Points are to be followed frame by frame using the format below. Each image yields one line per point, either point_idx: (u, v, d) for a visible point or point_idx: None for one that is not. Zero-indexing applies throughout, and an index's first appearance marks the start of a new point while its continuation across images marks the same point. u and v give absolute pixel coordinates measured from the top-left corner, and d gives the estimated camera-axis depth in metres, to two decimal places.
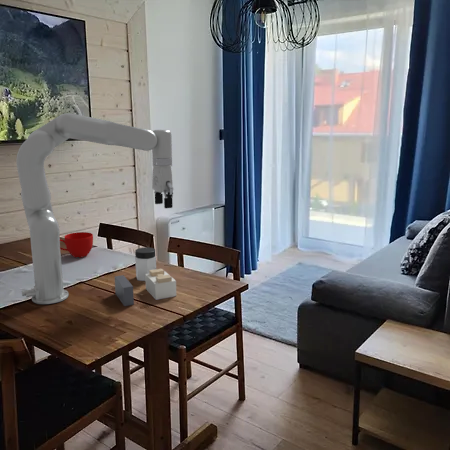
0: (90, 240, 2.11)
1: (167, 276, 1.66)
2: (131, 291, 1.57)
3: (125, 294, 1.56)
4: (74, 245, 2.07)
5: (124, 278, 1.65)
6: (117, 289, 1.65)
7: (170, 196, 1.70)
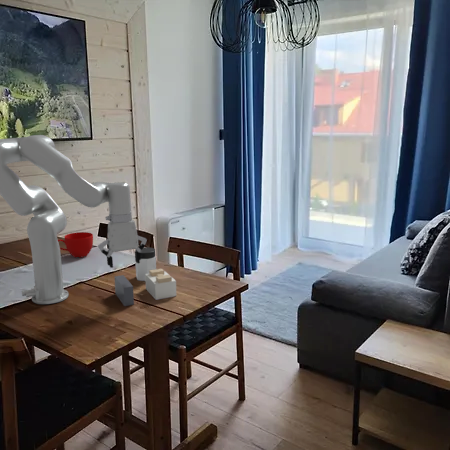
0: (90, 240, 2.11)
1: (167, 276, 1.66)
2: (131, 291, 1.57)
3: (125, 294, 1.56)
4: (74, 245, 2.07)
5: (124, 278, 1.65)
6: (117, 289, 1.64)
7: None
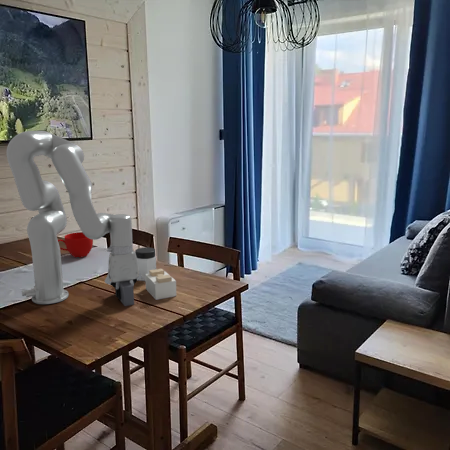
0: (90, 240, 2.11)
1: (167, 276, 1.66)
2: (131, 291, 1.57)
3: (125, 294, 1.56)
4: (74, 245, 2.07)
5: None
6: None
7: None
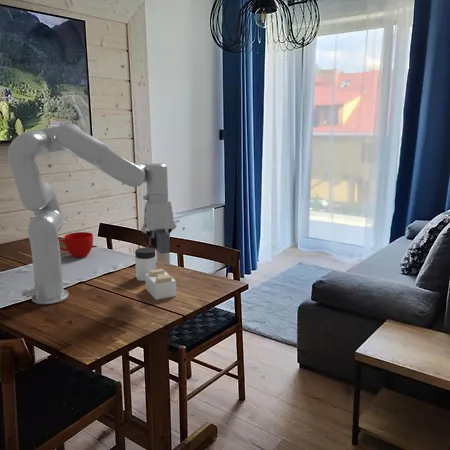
0: (90, 240, 2.11)
1: (167, 276, 1.66)
2: (167, 238, 1.59)
3: (162, 241, 1.58)
4: (74, 245, 2.07)
5: None
6: None
7: None
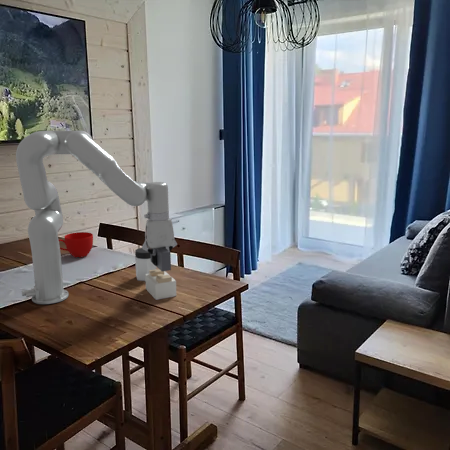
0: (90, 240, 2.11)
1: (167, 276, 1.66)
2: (168, 256, 1.61)
3: (163, 259, 1.60)
4: (74, 245, 2.07)
5: None
6: None
7: None
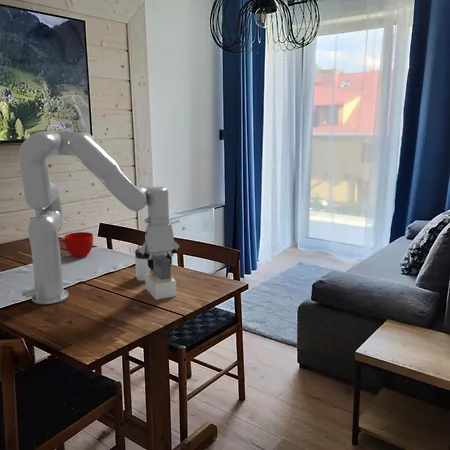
0: (90, 240, 2.11)
1: None
2: (168, 265, 1.62)
3: (163, 267, 1.61)
4: (74, 245, 2.07)
5: (160, 253, 1.69)
6: (153, 264, 1.69)
7: None
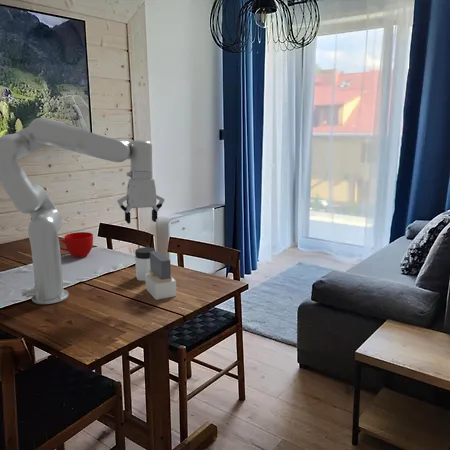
0: (90, 240, 2.11)
1: None
2: (168, 265, 1.62)
3: (163, 267, 1.61)
4: (74, 245, 2.07)
5: (160, 253, 1.69)
6: (153, 264, 1.69)
7: None
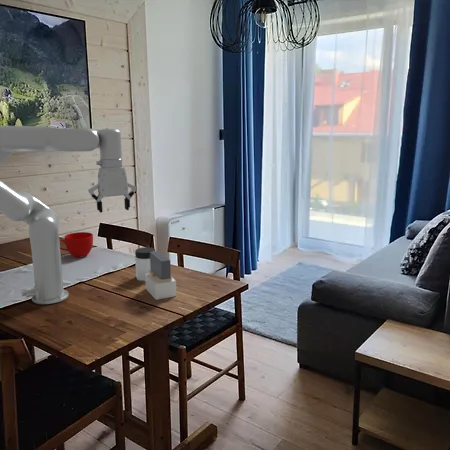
0: (90, 240, 2.11)
1: None
2: (168, 265, 1.62)
3: (163, 267, 1.61)
4: (74, 245, 2.07)
5: (160, 253, 1.69)
6: (153, 264, 1.69)
7: None
